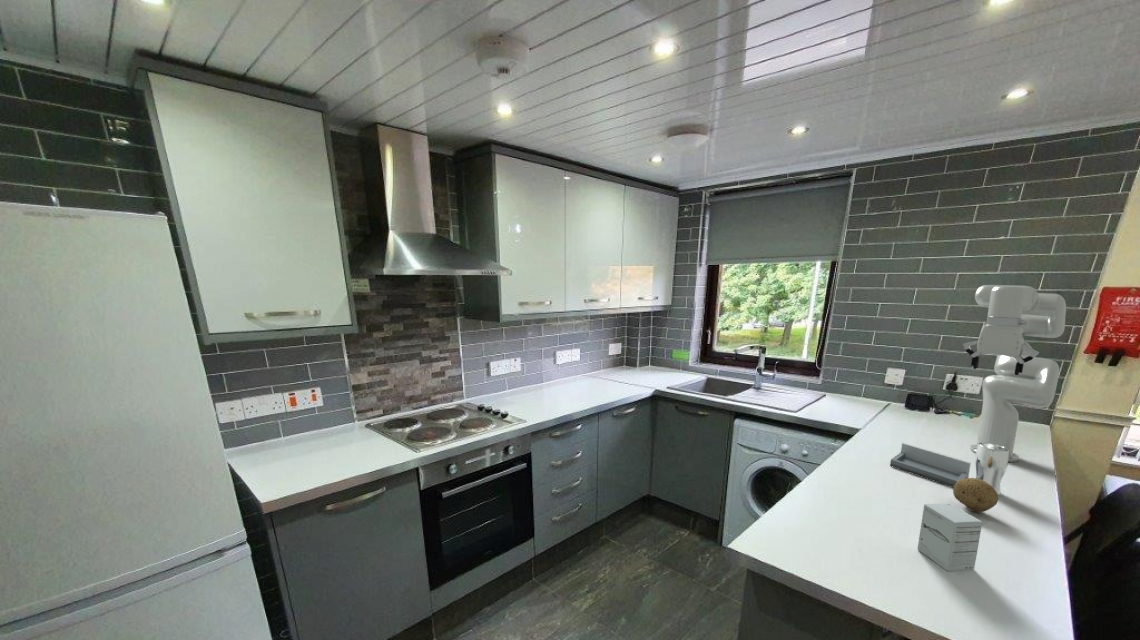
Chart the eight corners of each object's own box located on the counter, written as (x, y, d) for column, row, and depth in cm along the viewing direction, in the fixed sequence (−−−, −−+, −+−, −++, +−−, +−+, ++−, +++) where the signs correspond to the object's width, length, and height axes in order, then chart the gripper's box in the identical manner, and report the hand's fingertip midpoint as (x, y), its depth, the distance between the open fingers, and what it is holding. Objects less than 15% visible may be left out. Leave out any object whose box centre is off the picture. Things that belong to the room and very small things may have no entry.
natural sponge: (981, 523, 106) (986, 489, 105) (943, 504, 114) (947, 473, 113) (1002, 518, 108) (1008, 485, 107) (963, 500, 117) (968, 469, 116)
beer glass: (1009, 498, 118) (1017, 452, 117) (983, 495, 120) (990, 450, 118) (989, 485, 125) (996, 443, 123) (965, 483, 127) (971, 440, 125)
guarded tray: (901, 457, 144) (903, 442, 143) (968, 478, 129) (970, 462, 129) (890, 465, 138) (892, 450, 137) (959, 489, 123) (961, 472, 122)
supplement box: (915, 549, 95) (922, 503, 94) (942, 548, 96) (949, 501, 94) (947, 572, 88) (954, 522, 86) (976, 571, 88) (984, 521, 87)
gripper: (1044, 324, 123) (1036, 375, 125) (969, 319, 137) (962, 364, 139) (1041, 326, 119) (1033, 378, 121) (964, 320, 133) (957, 367, 135)
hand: (995, 371), depth 130 cm, fingers open, 9 cm apart
